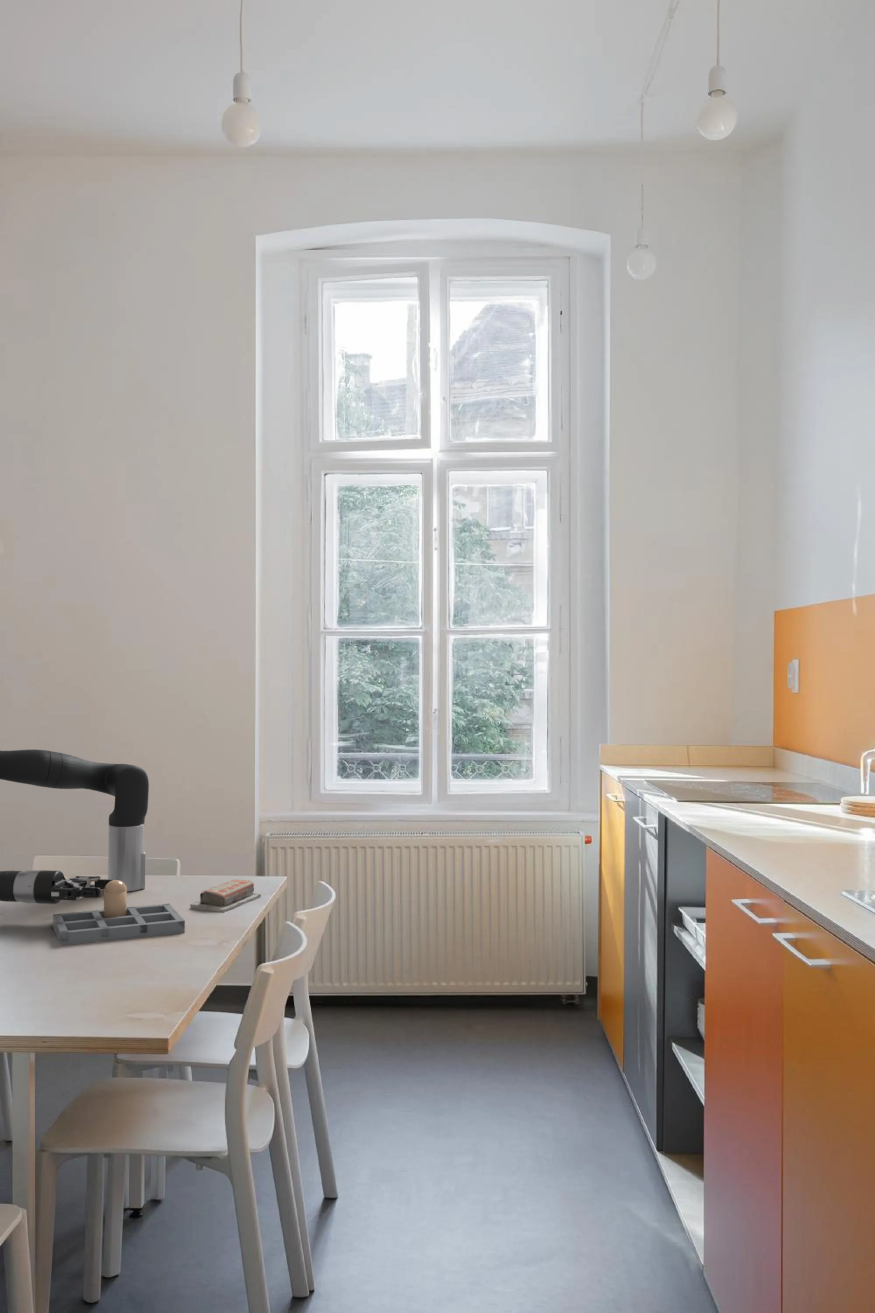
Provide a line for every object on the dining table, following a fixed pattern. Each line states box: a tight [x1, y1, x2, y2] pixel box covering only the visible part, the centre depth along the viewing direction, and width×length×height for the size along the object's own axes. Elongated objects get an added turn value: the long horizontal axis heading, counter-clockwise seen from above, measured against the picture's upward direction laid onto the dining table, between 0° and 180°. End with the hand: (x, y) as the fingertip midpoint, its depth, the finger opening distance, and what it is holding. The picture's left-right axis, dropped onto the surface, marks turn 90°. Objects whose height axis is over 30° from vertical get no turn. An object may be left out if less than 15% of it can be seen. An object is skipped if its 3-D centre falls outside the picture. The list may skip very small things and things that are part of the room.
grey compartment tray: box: [52, 903, 186, 946], centre depth 223 cm, size 26×18×3 cm
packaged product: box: [189, 879, 262, 913], centre depth 249 cm, size 18×5×10 cm
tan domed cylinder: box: [103, 880, 128, 918], centre depth 226 cm, size 5×5×10 cm
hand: (107, 888), depth 227 cm, fingers open, 8 cm apart
